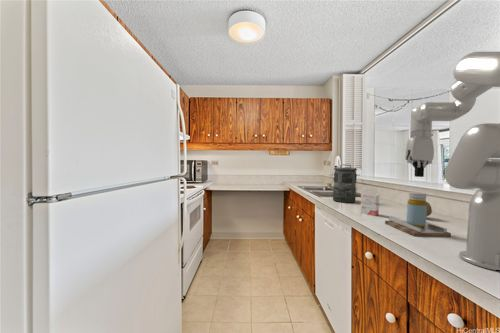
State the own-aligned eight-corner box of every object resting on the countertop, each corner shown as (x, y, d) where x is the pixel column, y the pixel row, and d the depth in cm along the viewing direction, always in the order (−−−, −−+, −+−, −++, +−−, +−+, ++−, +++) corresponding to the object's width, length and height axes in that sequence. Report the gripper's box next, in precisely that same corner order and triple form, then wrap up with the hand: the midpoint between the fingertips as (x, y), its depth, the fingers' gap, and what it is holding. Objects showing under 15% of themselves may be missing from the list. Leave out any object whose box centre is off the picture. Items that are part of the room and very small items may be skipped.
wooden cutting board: (446, 233, 93) (447, 228, 93) (417, 232, 92) (418, 228, 92) (413, 221, 111) (413, 217, 110) (388, 220, 110) (388, 216, 110)
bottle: (409, 222, 106) (411, 191, 106) (427, 226, 100) (429, 193, 100) (403, 224, 102) (405, 192, 101) (422, 229, 96) (424, 194, 96)
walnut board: (450, 236, 93) (450, 233, 93) (413, 235, 92) (413, 232, 92) (416, 224, 111) (416, 221, 111) (384, 223, 110) (385, 220, 110)
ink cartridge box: (378, 214, 128) (380, 189, 128) (375, 216, 125) (377, 189, 125) (363, 212, 135) (364, 187, 134) (359, 213, 132) (361, 188, 131)
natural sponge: (407, 216, 128) (407, 198, 128) (417, 215, 131) (418, 198, 131) (424, 220, 120) (425, 201, 119) (434, 219, 123) (435, 201, 122)
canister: (355, 200, 174) (356, 164, 173) (355, 204, 160) (357, 165, 159) (333, 198, 181) (335, 164, 180) (331, 201, 166) (333, 164, 166)
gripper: (429, 137, 104) (427, 176, 104) (398, 135, 103) (396, 175, 103) (444, 135, 97) (442, 177, 97) (410, 133, 96) (409, 176, 96)
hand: (418, 176), depth 100 cm, fingers closed
